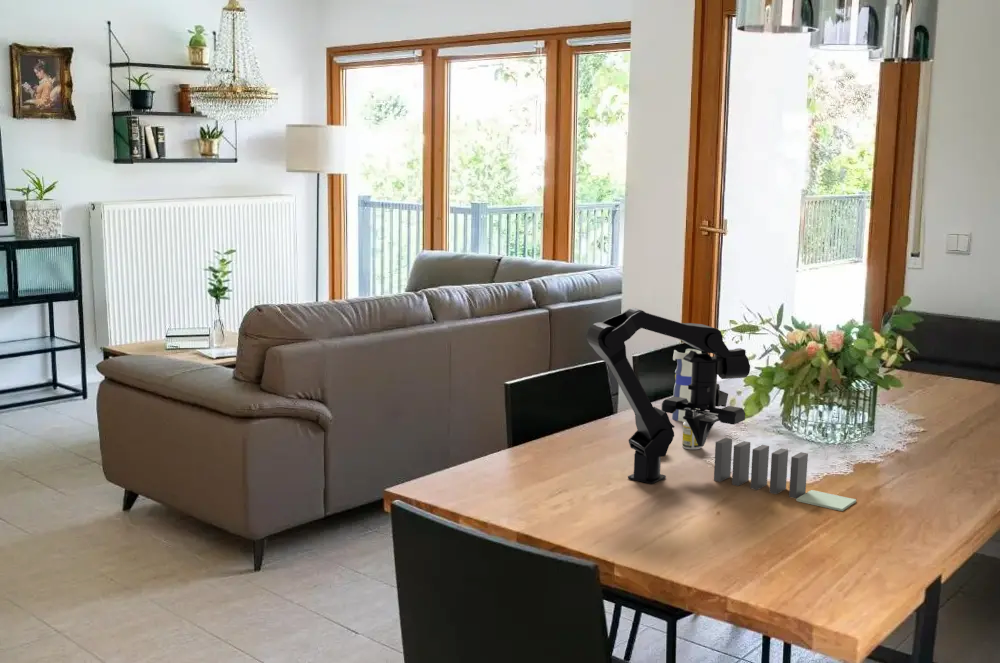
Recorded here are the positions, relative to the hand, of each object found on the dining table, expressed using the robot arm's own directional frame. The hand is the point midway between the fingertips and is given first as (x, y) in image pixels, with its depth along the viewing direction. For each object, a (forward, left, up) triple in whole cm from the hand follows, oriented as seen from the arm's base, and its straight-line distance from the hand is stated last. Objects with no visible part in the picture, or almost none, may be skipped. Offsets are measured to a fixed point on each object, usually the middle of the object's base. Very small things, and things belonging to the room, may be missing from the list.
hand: (701, 446), depth 240 cm
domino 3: (0, -15, -7) cm, 16 cm away
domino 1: (0, -6, -7) cm, 9 cm away
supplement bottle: (+18, +12, -7) cm, 23 cm away
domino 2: (0, -10, -7) cm, 12 cm away
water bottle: (+43, +28, -7) cm, 52 cm away
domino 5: (0, -24, -7) cm, 25 cm away
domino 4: (0, -19, -7) cm, 20 cm away
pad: (0, -30, -6) cm, 31 cm away
